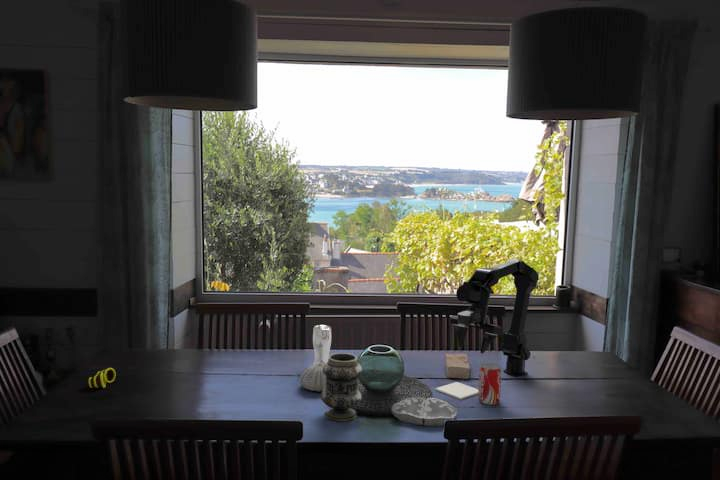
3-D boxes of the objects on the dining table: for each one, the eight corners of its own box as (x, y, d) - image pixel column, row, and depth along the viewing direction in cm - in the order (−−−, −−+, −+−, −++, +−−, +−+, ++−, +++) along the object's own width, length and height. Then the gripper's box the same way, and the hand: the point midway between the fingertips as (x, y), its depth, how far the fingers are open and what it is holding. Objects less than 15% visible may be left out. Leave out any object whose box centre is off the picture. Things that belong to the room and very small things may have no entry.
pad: (456, 383, 202) (456, 381, 202) (481, 392, 194) (481, 390, 194) (435, 390, 195) (435, 388, 195) (460, 399, 187) (460, 398, 187)
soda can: (496, 407, 181) (497, 370, 180) (474, 402, 185) (476, 366, 183) (503, 401, 187) (505, 365, 186) (482, 396, 191) (483, 361, 189)
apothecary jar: (362, 423, 167) (364, 362, 165) (321, 423, 166) (322, 362, 164) (359, 407, 179) (360, 350, 177) (320, 407, 178) (321, 350, 176)
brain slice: (456, 408, 180) (457, 399, 180) (456, 431, 164) (457, 421, 163) (394, 403, 183) (394, 394, 183) (388, 425, 167) (388, 415, 166)
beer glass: (334, 365, 219) (335, 326, 218) (323, 370, 213) (324, 330, 212) (319, 362, 223) (320, 324, 222) (308, 366, 217) (309, 327, 216)
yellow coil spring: (102, 381, 198) (99, 368, 198) (117, 379, 198) (114, 365, 198) (88, 392, 189) (85, 377, 188) (104, 389, 188) (101, 374, 188)
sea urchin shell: (309, 378, 204) (309, 356, 203) (345, 384, 200) (345, 361, 199) (293, 391, 192) (293, 367, 191) (330, 397, 187) (331, 373, 186)
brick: (469, 379, 208) (470, 366, 207) (446, 378, 209) (447, 365, 208) (466, 365, 224) (467, 353, 224) (445, 364, 225) (445, 352, 225)
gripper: (444, 297, 199) (435, 342, 198) (488, 307, 185) (478, 355, 184) (463, 301, 206) (455, 344, 205) (507, 311, 192) (498, 357, 191)
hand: (470, 350), depth 196 cm, fingers open, 9 cm apart
